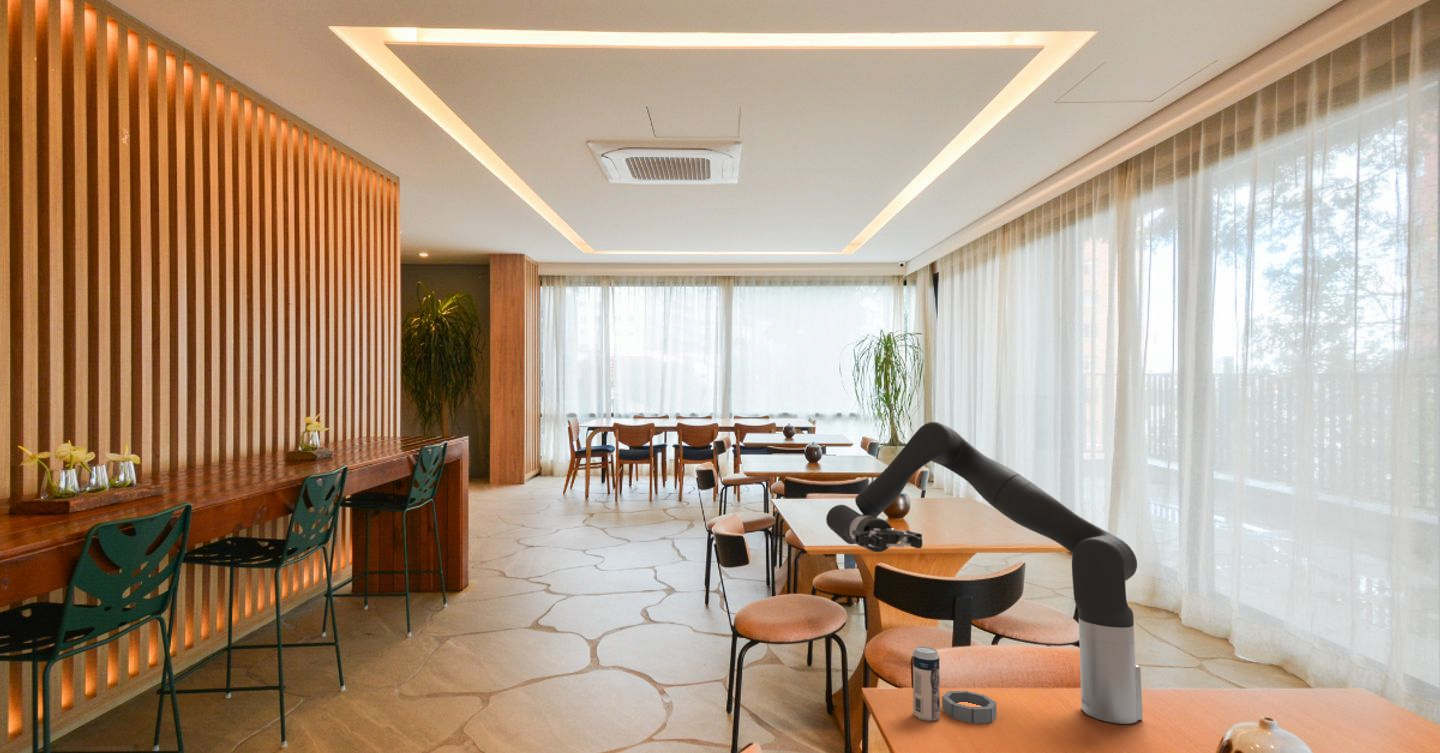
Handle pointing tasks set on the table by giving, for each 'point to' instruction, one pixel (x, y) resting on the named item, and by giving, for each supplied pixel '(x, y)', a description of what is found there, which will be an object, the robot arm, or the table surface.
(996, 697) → the table surface
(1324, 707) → the table surface
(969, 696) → the holder ring
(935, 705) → the beer can
